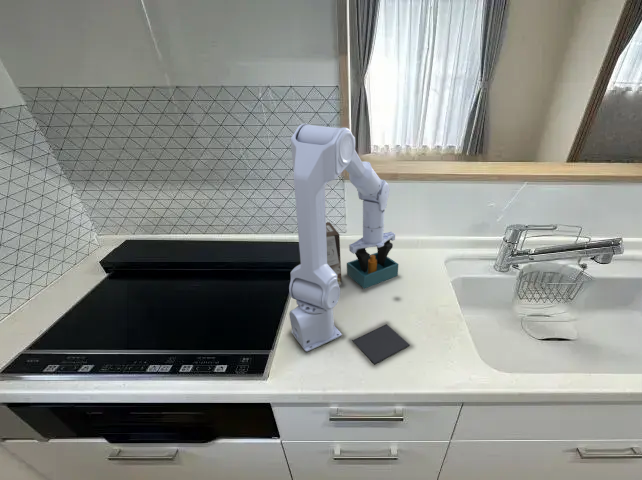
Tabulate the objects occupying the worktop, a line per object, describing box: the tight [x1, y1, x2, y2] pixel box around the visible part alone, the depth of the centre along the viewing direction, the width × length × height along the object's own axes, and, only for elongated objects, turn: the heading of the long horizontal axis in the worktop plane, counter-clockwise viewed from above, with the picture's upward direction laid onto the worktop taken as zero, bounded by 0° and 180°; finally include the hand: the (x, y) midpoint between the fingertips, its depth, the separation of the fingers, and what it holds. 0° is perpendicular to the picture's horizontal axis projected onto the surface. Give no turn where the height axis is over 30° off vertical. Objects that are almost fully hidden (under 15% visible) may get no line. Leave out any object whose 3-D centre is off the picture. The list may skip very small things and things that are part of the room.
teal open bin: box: [346, 251, 399, 290], centre depth 95 cm, size 12×9×5 cm
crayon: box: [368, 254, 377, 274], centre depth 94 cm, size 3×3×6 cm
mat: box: [351, 323, 411, 366], centre depth 74 cm, size 10×9×1 cm
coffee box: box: [326, 221, 343, 286], centre depth 90 cm, size 9×6×16 cm
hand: (372, 267), depth 95 cm, fingers open, 6 cm apart
